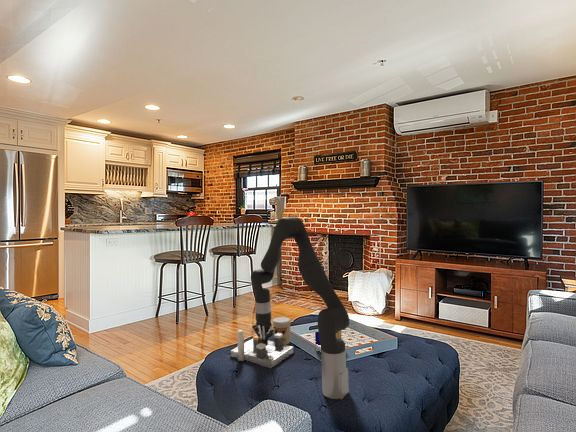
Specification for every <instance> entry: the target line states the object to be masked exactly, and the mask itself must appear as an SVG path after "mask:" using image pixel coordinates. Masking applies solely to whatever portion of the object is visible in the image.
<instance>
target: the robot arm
mask: <svg viewBox="0 0 576 432" xmlns="http://www.w3.org/2000/svg"><path fill="white" fill-rule="evenodd" d="M287 239H289V240H290V239H294V241H295V243H296V246H297V248H298V259H297V268H298V271H299V273H300V275H301V278H302V280H303V282H304V283H305V285H306V286H308V288H309V289H311V290H312V291H313V292H314V293H316V294H317V295H318V297H320V298H321V299H322V301H323V302H324V303H325V306H326V307H327V308H324V309H322V310H319V312H318V314H317V330H318V333H319V341H320V344H321V352H320V353H321V355H320V356H321V358H320V359H321V361H320V362H321V382H322V384H321V385H322V388H321V389H322V394H323V396H324V397H326V398H328V399H330V400H331V399H332V400H343V399H344V398H345V397H346V396H347V395H348V394H349V392H350V391H349V389H350V388H349V368H348V367H347V365H346V364H347V363H346V360H347V359H346V342H345V340H343V339H339V338H336V332H338V331H341V332H342V331H343V330H345V329H347V328H348V327H349V325H350V317H349V313H348V311H347V309H346V308H345V306H344V305H343V302H342V301H341V299H340V297H339V296H338V294H337V293H336V291H335V289H334V287H333V286H332V284H331V282H330V280H329V278H328V276H327V274H326V272H325V269H324V267H323V265H322V263H321V262H320V260H319V257H318V256H317V254H316V251H315V248H314V247H313V245H312V242H311V240H310V237H309V235H308V231H307V229H306V226H305V224H304V222H303V221H302V219H301V218H300V217H297V216H284V217H281V218H279V219H278V221H277V223H276V224H275V226H274V230H273V233H272V236H271V240H270V242H269V246H268V248H267V251H266V253H265V254H264V256H263V258H262V260H261V262H260V268H259V269H256V270H255V269H254V270H253V271H252V272H251V275H250V282H251V284H252V287H253V288H252V289H253V291H254V296H255V298H254V299H255V301H254V302H255V303H254V304H255V305H254V310H255V311H254V313H255V324H254V325H252V329H253V330H254V332H255V335H257V336H258V337H260V338H261V343H262V344H266V346H267V345H268V340H269V339H270V338H272V336H274V332H275V331H276V329H275V328H273V323H272V305H271V291H270V289H269V288H266V287H263V285H264V284H268V283H270V282H272V280H273V279H274V274H275V269H276V268H277V266H278V264H279V262H280V260H281V258H282V251H281V250H282V249H281V247H282V244H283V242H284V241H285V240H287Z"/></svg>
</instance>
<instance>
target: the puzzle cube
mask: <svg viewBox="0 0 576 432" xmlns="http://www.w3.org/2000/svg"><path fill="white" fill-rule="evenodd" d="M314 333H315V336H314V337H315V338H314V339H315V345H316V344H318V345H321V344H320V341H319V333H318V329H317V330H316V331H315V332H314ZM336 338H339V339H342V330H341V331H338V332H336ZM342 340H343V339H342Z"/></svg>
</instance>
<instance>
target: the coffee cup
mask: <svg viewBox="0 0 576 432" xmlns="http://www.w3.org/2000/svg"><path fill="white" fill-rule="evenodd" d="M291 322H292V321H291V319H290V317H287V316H277V317H275V318H273V320H272V327H273V328H275V329H276V331H275V332H274V333H273V336H274V335H275V334H277V333H281V334H283V344H285V345H289V344H290V342H291Z"/></svg>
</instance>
